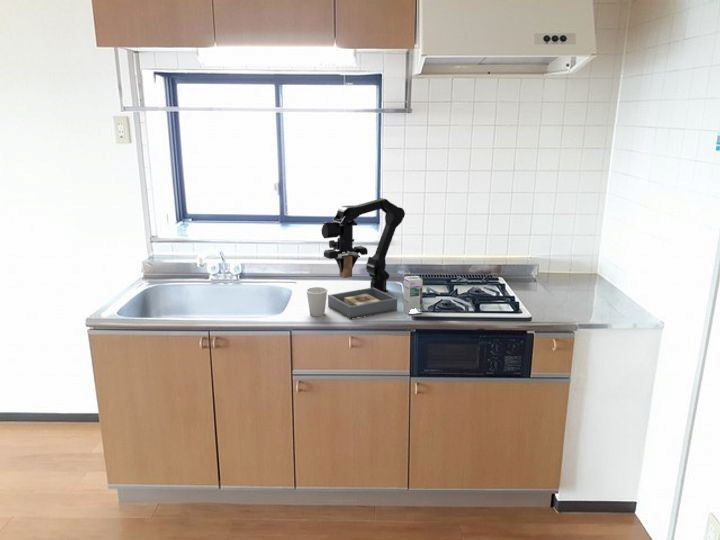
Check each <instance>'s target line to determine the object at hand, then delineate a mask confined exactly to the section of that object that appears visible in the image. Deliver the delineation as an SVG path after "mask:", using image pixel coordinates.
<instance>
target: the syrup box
mask: <svg viewBox="0 0 720 540" xmlns="http://www.w3.org/2000/svg"><path fill="white" fill-rule="evenodd" d="M423 281H424V280H423V278H422V277H420V276H418V275H414V276H412V275H411V276H404V277H403V311H404V313H406V315H408V314H409V312H410V310H411V309H415V308H416V309H423Z"/></svg>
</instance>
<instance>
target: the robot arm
mask: <svg viewBox="0 0 720 540" xmlns="http://www.w3.org/2000/svg"><path fill="white" fill-rule="evenodd" d="M378 210H381V211H382V212H384V213H385V216H384V221H385V224H384V228H383V230H382V234H381V236H380V239H379V242H378V244H377V247H376V250H375V253H374V254H373V256H368V259H367V261H366V264H365V266H366V267H365V269H366V272H367V273H368V274H369V277H371V280H370V284H369V285H370V287H369V288H373V287H374V288H376V289H378V290H380V291H382V292H384V293H388V292H389V290H388V289H387V282H388V281H387V280H389V278H390V276H391V275H390V274H389V273H388V272H387V270H386V266H387V265H386V263H387V262H386V257H387V254H388V251H389V248H390V245H391V243H392V240H393V238H394V235H395V233H396V229H397V228H398V227H399V225H400V224H401V223H402V221H403V219H404V217H405V215H406V211H405V210H404V209H403V208H402V207H400V206H397V205H396V204H394V203H392V202H391V201H389V200H388V199H386V198H382V197H380V198H377V199H373V200H370V201H367V202H363V203H360V204H355V205H342V206H339V207H338V209H337V211H336V214H335V215H334V217H333V219H332V220H331V221H324V222H323V225H322V227H321V231H320V232H321V236H322V238H323V239H331V238H332V240H329V241H328V242H329V243H328V247H329V249H325V250H324V251H323V257H325V258H326V259H329V260H335V262H336V264H337V266H338V269H339V273H340V272H341V273H342V272H343V262H344V258H342V255H350V256H352V269H354V266H355V264H356V262H357V261H358V260H359V258H360V257H361V256H366V255H368V254H369V253H368V248H367V247H365V246H363V245H358V246H353V245H354V244H353V243H354V242H355V238H354V237H353V234H354V229H353V228H354V227H353V226H358V223H357V222H356V220H355V219H357V218H359V217H360V216H361V215H364V214H368V213H371V212H375V211H378ZM333 238H337V239H336V241H335V239H334V240H333Z"/></svg>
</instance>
